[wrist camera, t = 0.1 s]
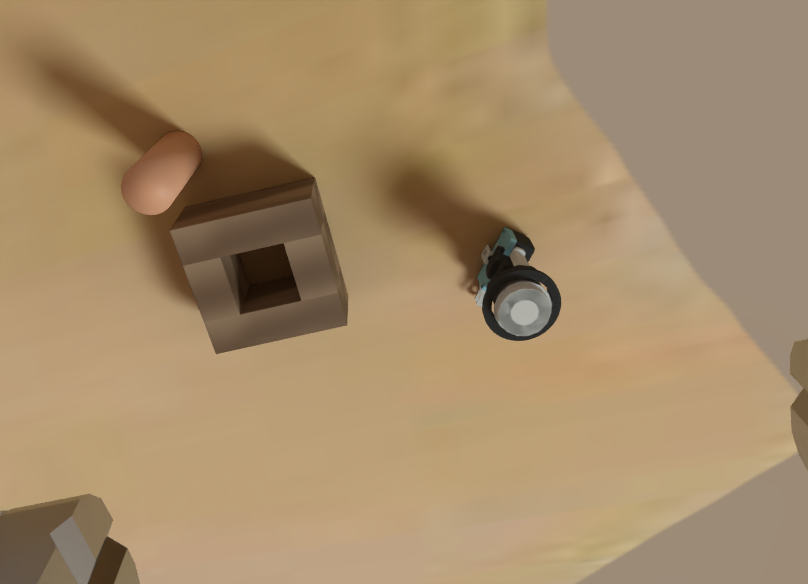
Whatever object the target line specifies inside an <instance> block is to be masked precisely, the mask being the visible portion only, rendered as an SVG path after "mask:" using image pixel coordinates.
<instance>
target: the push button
mask: <svg viewBox="0 0 808 584" xmlns="http://www.w3.org/2000/svg"><path fill="white" fill-rule="evenodd" d="M534 250H535V248H534V246H533V244H532V242H531V241H530V239H529V238H528V237H526V236H524V235H521V234H519V233H517V232H515V231H513V230H510V229H508V228H506V227H505V228H504V229H503V231H502V233H501V235H500V237H499V239H498V241H497V242H496V244H495V246H494V248H493V250H492V251H490V248H489V245H486V247H485V249H484V250H483V252H482V254H481V258H482V261H483V263H484V265H483V267H482V269H481V271H480V272H479V274H478V281H479V284H480V286H479V288H480V290H479V291H478V293H477V295H476V297H475V298H474V299H475V300H476V301H477V302H476V305H478V306H480V307H482V311H483V315H484V318H485V321H486V323H487V325H488V326H489V328H490V329H491V330H492V331H493V332H494V333H496V334H497V335H499V336H500V337H502V338H505V339H508V340H514V341H523V340H529V339H532V338H535V337H538V336H539V335H541V334H543V333H544V332H546V331H547V330H548V329H549V328H550V327H551V326H552V325H553V324H554V322H555V321H556V319H557V317H558V315H559V312H560V308H561V296H560V293H559V290H558V288H557V286H556V284H555V283H554V281H553V280H552V279H551V278H550V277H549V276H548V275H546V274H545V273H543V272H541V271H538V270H536V269H535V268H534V267H532V266H529V264H528V261H529V260H530V258H531V256H532V254H533V253H534ZM485 251H486V253H485ZM484 253H485V255H484ZM540 282H541V283H542V284H544V285H545V286H546V287H547V291H548V292H547V291H546V290H545V289H544V288H543V287H542V286H541V284H540ZM480 294H481V296H480V297H479V295H480ZM492 301H493V302H494V314H493V312H492V310H491V309H492Z"/></svg>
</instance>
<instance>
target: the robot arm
mask: <svg viewBox="0 0 808 584" xmlns="http://www.w3.org/2000/svg"><path fill="white" fill-rule="evenodd" d="M790 374H791V375H792V376H793V377H794V379H795V380H796V381H797V382H798V383H799V384H800V385H801V386H802V387H803V390H802V391H801V392H800V394H799V395H798V397H797V398H796V400H795V401H794V402H793V404H792V405H791V426H792V434H793V437H794V440H795V444H796V447H797V450H798V454H799V456H800V458H801V459H802V461H803V463H804V465H805V467H806V469H807V470H808V339H804V340H800V341H795V342H794V345H793V348H792V351H791V354H790ZM112 521H113V519H112V517H111V515H110V513H109V512H108V510H107V508H106V506H105V505H104V503H103V501H102V499H101V498H99V497H96V496H94V495H91V494H86V495H81V496H76V497H71V498H66V499H60V500H55V501H50V502H45V503H40V504H35V505H30V506H25V507H19V508H14V509H11V510H9V511H0V584H140V582H139V578H138V574H137V570H136V566H135V563H134V561H133V559H132V557H131V555H130V552H129V550H128V548H126V547H125V546H123V545H121V544H120V543H118V542H116V541H114V540H113V539H111V538H109V537H108V534H109V531H110V528H111V525H112Z"/></svg>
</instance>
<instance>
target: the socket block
mask: <svg viewBox="0 0 808 584" xmlns="http://www.w3.org/2000/svg"><path fill="white" fill-rule="evenodd" d="M170 233H171V236H172V239H173V241H174V244H175V247H176V249H177V252H178V255H179V257H180V260H181V262H182V265H183V268H184V270H185V273H186V276H187V278H188V281H189V284H190V286H191V289H192V292H193V294H194V297H195V300H196V302H197V305H198V307H199V310H200V313H201V315H202V318H203V321H204V323H205V326H206V329H207V331H208V334H209V337H210V339H211V342H212V345H213V347H214V350H215V352H216V354H219V353H223V352H228V351H232V350H237V349H241V348H246V347H251V346H255V345H260V344H264V343H269V342H273V341H278V340H282V339H287V338H291V337H296V336H300V335H305V334H309V333H314V332H318V331H323V330H328V329H332V328H337V327H341V326H346V325H347V316H348V293H347V290H346V286H345V283H344V279H343V276H342V272H341V268H340V265H339V261H338V258H337V254H336V251H335V247H334V244H333V240H332V237H331V233H330V229H329V226H328V222H327V219H326V215H325V212H324V208H323V205H322V201H321V197H320V194H319V190H318V187H317V183H316V180H315V177H314V178H310V179H306V180H301V181H297V182H293V183H288V184H284V185H280V186H275V187H271V188H267V189H262V190H258V191H254V192H249V193H245V194H241V195H236V196H232V197H228V198H223V199H219V200H215V201H210V202H206V203H202V204H197V205H193V206H189V207H185V208H184V209H183V211H182V213H181V214H180V216H179V217H178V219H177V220H176V222H175V223H174V225H173V226H172V228H171V229H170ZM282 243H284V246H285V249H286V253H287V256H288V259H289V262H290V266H291V269H292V272H293V275H294V276H292V277H288V278H283V279H279V280H274V281H270V282H265V283H261V284H256V285H252V286H249V284H248V281H247V278H246V275H245V272H244V269H243V266H242V263H241V260H240V257H239V254H238V253H242V252H247V251H251V250H255V249H260V248H264V247H269V246H273V245H277V244H282Z"/></svg>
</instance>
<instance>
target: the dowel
mask: <svg viewBox="0 0 808 584" xmlns="http://www.w3.org/2000/svg"><path fill="white" fill-rule="evenodd" d="M201 160H202V150H201V147H200V145H199V143H198V142H197V140H196V139H195V138H194V137H193V136H191V135H190V134H188V133H185V132H182V131H172V132H169V133H167V134H165V135H164V136H163V137H162V138H161V139H160V140H159V141H158V142H157V143H156V144H155V145H154V146H153V147H152V148H151V149H150V150H149V151H148V152H147V153H146V154H145V155H144V156H143V157H142V158H141V159H140V160H139V161H138V162H137V163H136V164H135V165H134V166H133V167H132V168H131V169H130V170H129V171H128V172H127V173H126V174H125V175H124V177H123V179H122V183H121V190H122V195H123V197H124V199H125V201H126V202H127V204H128V205H129V206H130V207H131V208H133V209H134V210H135V211H137V212H139V213H142V214H146V215H156V214H160V213H162V212H164V211H165V210H167V209H168V208H169V207H170V205H171V204H172V203H173V201H174V200H175V198H176V197H177V196H178V194H179V193H180V191H181V190H182V189H183V187H184V186H185V184H186V183H187V182H188V180H189V179H190V178H191V176H192V175H193V173H194V172H195V171H196V169H197V168H198V166H199V165H200V163H201Z"/></svg>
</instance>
